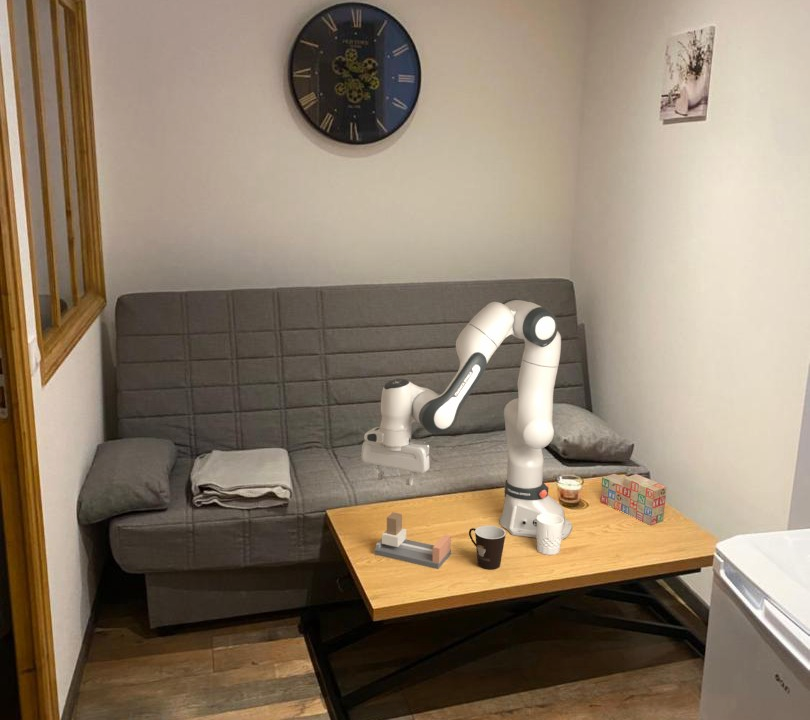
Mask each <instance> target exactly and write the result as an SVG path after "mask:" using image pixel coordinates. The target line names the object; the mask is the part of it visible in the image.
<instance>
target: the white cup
mask: <svg viewBox="0 0 810 720" xmlns="http://www.w3.org/2000/svg"><path fill="white" fill-rule="evenodd" d="M563 524H564V519H563V518H562V517H561V516H559V515H556V514H552V513H544V514H540V515H538V516H537V527H536V528H537V529H536V537H537V538H536V550H537V552H539V553H540V554H543V555H545V556H547V555H548V556H554V555H558V554H559V553H560V551H561V543H562V540H563V539H562V533H563Z"/></svg>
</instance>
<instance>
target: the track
mask: <svg viewBox="0 0 810 720" xmlns="http://www.w3.org/2000/svg"><path fill="white" fill-rule="evenodd" d="M451 538H452V535H449V534H443V536H442V537H440V539H439V540H438V541H437V542H436V543H435V544H434V545H433V544H429V543H424V542H421V541H415V540H410V539H407V538H406V539H405V540H404V541H403V542H402V543H401V544H400V545H399V546H398V547H395V546H390V545H386V544H382V538H381V539H380V540H379V541H378V542H376V544H375V548H374V550H373V552H374V553H373V555H377V556H380V557H383V558H389V559H393V560H397V561H402V562H407V563H411V564H414V565H418V566H419V565H420V566H424V567H427V568H432V569H437V570H439V569H440V567H442V565H443V564H444V563H446V561H447V559H448V558H449V557H450V556H451V555H452V549H451V547H452V539H451Z"/></svg>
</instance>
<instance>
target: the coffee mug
mask: <svg viewBox="0 0 810 720" xmlns="http://www.w3.org/2000/svg"><path fill="white" fill-rule="evenodd" d="M472 531H473V532H474V535H475V536H474V537H475V540H474V538H473V536H472ZM468 535H469V539H470V540H471V542H472V543H473V545H474V546H475V547H476V549H475V550H476V558H477V559H476V560H477V566H478V567H480V569H483V570H487V571H495V570H497V569H500V566H501V562H502V557H503V553H504V551H503V550H504V546H505V540H506V535H507V534H506V530H505V528H502V527H500V526H496V525H491V524H490V525H481V526H478V527H476V528H474V527H472V528H470V529H469V530H468Z"/></svg>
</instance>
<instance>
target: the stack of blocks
mask: <svg viewBox="0 0 810 720" xmlns="http://www.w3.org/2000/svg"><path fill="white" fill-rule="evenodd" d="M667 488H668V487H667V486H666V485H663V484H660V483H659V482H657V481H656V480H653V479H649V478H647V477H644V476H643V475H640V474H638V473H637V474H636V473H635V474H633V475H630V476H625V477H624V476H621V475H619V474H617V473H612V474H608V475H607V476H603V477H602V478H601V491H600V492H601V493H600V494H601V495H600V503H601V502H602V503H601V504H603V503H604V505H605V504H606V505H605V506H608V505H609V506H611V507H613V508H612V509H614V508H615V509H614V510H616V509H617V510H616V511H618V510H619V511H618V512H620V511H622V512H624V513H626V514H628V515H627V516H629V515H630V516H629V517H631V516H632V517H631V518H633V517H634V518H633V519H635V518H636V520H637V519H638V520H637V521H639V520H640V522H641V521H642V522H641V523H643V524H646V525H648V526H649V527H651V526H653V525H654V526H655V525H656V524H659V523H662V522H663V521H664V513H665V512H664V511H665V503H666V498H667ZM609 506H608V507H609ZM611 507H610V508H611ZM622 512H621V513H622ZM624 513H623V514H624ZM626 514H625V515H626Z"/></svg>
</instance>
